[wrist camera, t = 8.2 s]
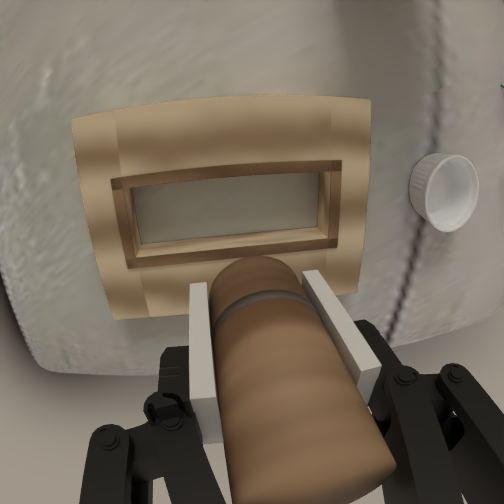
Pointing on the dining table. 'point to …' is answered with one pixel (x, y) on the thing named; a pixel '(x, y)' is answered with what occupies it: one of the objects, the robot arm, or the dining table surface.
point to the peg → (287, 395)
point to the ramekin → (444, 190)
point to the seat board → (218, 166)
